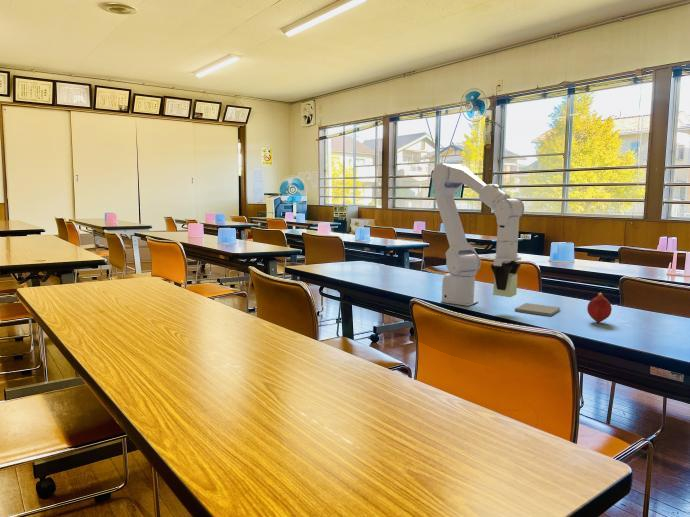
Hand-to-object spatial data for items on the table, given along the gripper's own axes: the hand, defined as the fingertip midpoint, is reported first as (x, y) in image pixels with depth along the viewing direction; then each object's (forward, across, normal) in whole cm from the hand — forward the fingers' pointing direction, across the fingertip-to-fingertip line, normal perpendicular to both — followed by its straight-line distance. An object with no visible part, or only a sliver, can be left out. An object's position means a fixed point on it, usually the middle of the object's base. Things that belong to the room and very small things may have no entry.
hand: (504, 288), depth 145 cm
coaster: (+7, +9, -7) cm, 13 cm away
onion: (+7, +5, -24) cm, 26 cm away
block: (+2, 0, 0) cm, 2 cm away
